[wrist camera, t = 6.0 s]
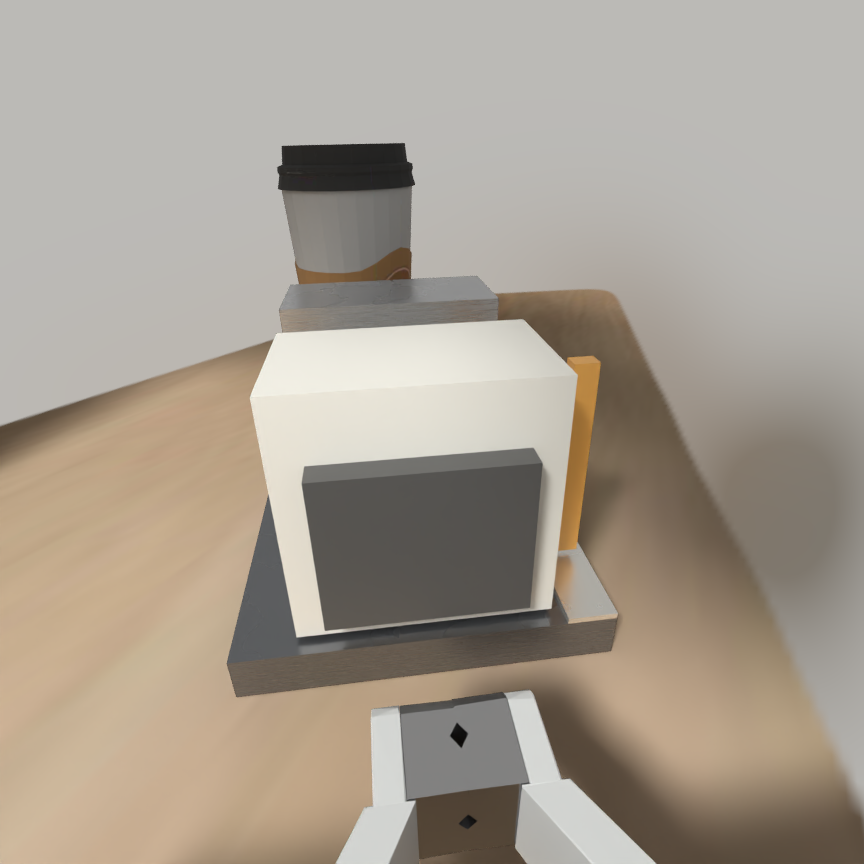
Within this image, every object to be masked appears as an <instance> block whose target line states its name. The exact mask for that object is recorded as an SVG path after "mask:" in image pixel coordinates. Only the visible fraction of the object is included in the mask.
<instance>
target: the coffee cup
mask: <svg viewBox="0 0 864 864" xmlns="http://www.w3.org/2000/svg"><path fill="white" fill-rule="evenodd" d="M412 169H413V167H412V163H409V162H407V158H406V150H405V143H393V144H391V143H390V144H347V145H346V144H343V145H300V146H282V165H281V166H279V167H278V173H279V185H278V189H280V190H282V194H283V199H284V204H285V209H286V214H287V219H288V224H289V228H290V234H291V239H292V244H293V249H294V254H295V266H296V271H297V276H298V281H299V284H318V283H339V282H359V281H380V280H401V279H411V251H410V238H411V195H412V186H413V185H415V183H414V180H413V176H412V172H411V171H412Z"/></svg>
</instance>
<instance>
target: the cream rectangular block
mask: <svg viewBox="0 0 864 864" xmlns="http://www.w3.org/2000/svg"><path fill="white" fill-rule="evenodd" d="M600 367H601V362H600V361H599V360H597V359H596V358H595V357H594V356H582V357H568V359H567V363H566V362H565V361H564V360H563V359H562V358H561V357H560V356H559V355H558V354H557V353H556V352H555V351H554V350H553V349H552V348H551V347H550V346H549V345H548V344H547V343H546V342H545V341H544V340H543V339H542V338H541V337H540V336H539V335H538V334H537V333H536V332H535V331H534V330H533V329H532V328H531V327H530V326H529V325H528V324H527V323H526V322H525V321H524V320H523V319H517V320H499V321H482V322H465V323H447V324H430V325H412V326H395V327H377V328H360V329H342V330H325V331H307V332H290V333H276V336H275V338H274V341H273V343H272V345H271V348H270V350H269V353H268V355H267V357H266V360H265V362H264V365H263V367H262V369H261V372H260V374H259V377H258V379H257V381H256V384H255V386H254V389H253V391H252V393H251V396H250V401H251V406H252V411H253V416H254V422H255V427H256V432H257V437H258V442H259V447H260V452H261V458H262V463H263V468H264V473H265V478H266V483H267V488H268V493H269V499H270V504H271V509H272V514H273V519H274V524H275V529H276V535H277V540H278V545H279V550H280V555H281V560H282V565H283V571H284V576H285V581H286V586H287V591H288V596H289V601H290V607H291V612H292V617H293V622H294V627H295V632H296V637H306V636H315V635H324V634H332V633H341V632H350V631H359V630H368V629H377V628H385V627H394V626H403V625H412V624H421V623H429V622H438V621H447V620H456V619H465V618H473V617H482V616H491V615H500V614H509V613H517V612H526V611H535V610H544V609H551V608H552V599H553V590H554V581H555V572H556V564H557V555H558V551H562V550H571V549H576V547H577V540H578V532H579V525H580V517H581V510H582V502H583V495H584V487H585V480H586V472H587V465H588V457H589V450H590V442H591V434H592V427H593V419H594V412H595V404H596V397H597V389H598V382H599V374H600Z"/></svg>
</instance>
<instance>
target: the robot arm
mask: <svg viewBox="0 0 864 864" xmlns="http://www.w3.org/2000/svg"><path fill="white" fill-rule="evenodd" d="M400 723H401V725H400ZM371 750H372V789H373V806H369V807H364V809H363V811H362V813H361V815H360V817H359V819H358V821H357V823H356V825H355V827H354V829H353V831H352V833H351V835H350V836H349V838H348V840H347V842H346V844H345V846H344V848H343V850H342V852H341V854H340V856H339V858H338V860H337V862H336V864H419V859H424V858H430V857H435V856H441V855H446V854H452V853H457V852H462V851H468V850H477V849H485V848H493V847H501V846H510V845H515V848H516V850H517V851H518V852H519V854H520V855H521V856H522V858H523V859H524V860H525V862H526V863H527V864H656V863H655V862H654V861H653V860H652V859H651V858H650V857H649V856H648V855H647V854H646V853H645V852H644V851H643V850H642V849H641V848H640V847H639V846H638V845H637V844H636V843H635V842H634V841H633V840H632V839H631V838H630V837H629V836H628V835H627V834H626V833H625V832H624V831H623V830H622V829H621V828H620V827H619V826H618V825H617V824H616V823H615V822H614V821H613V820H612V819H611V818H610V817H609V816H608V815H607V814H606V813H605V812H604V811H603V810H602V809H601V808H600V807H599V806H597V805H596V804H595V803H594V802H593V801H592V800H591V799H590V798H589V797H588V796H587V795H586V794H585V793H584V792H583V791H582V790H581V789H580V788H579V787H578V786H577V785H576V784H575V783H574V782H573V781H572V780H571V779H570V778H568V779H562V778H561V775H560V772H559V769H558V766H557V763H556V760H555V757H554V754H553V751H552V748H551V745H550V742H549V739H548V736H547V733H546V730H545V727H544V723H543V720H542V717H541V714H540V711H539V708H538V705H537V702H536V699H535V696H534V694H533V693H532V692H531V690H529V689H528V690H521V691H514V692H507V693H503V692H500V693H493V694H486V695H479V696H472V697H465V698H458V699H452V700H449V701H440V702H431V703H422V704H413V705H404V706H400V713H399V706H392V707H384V708H376V709H372V711H371Z"/></svg>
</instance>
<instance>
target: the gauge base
mask: <svg viewBox="0 0 864 864" xmlns="http://www.w3.org/2000/svg"><path fill="white" fill-rule="evenodd" d="M279 313H280V320H281V326H282V333H290V332H307V331H325V330H342V329H360V328H377V327H395V326H412V325H430V324H447V323H465V322H482V321H498V297H497V296H496V295H495V294H494V293H493V292H492V291H491V290H490V289H489V288H488V287H487V286H486V285H485V284H484V283H483V281H482V280H481V279H480V278H479V277H478V276H464V277H442V278H422V279H401V280H380V281H359V282H339V283H318V284H298V285H290V287H289V289H288V292H287V294H286V296H285V298H284V300H283V303H282V305H281V307H280V309H279ZM617 616H618V613H617V611H616V609H615V607H614V605H613V604H612V602H611V600H610V598H609V597H608V595H607V593H606V591H605V590H604V588H603V586H602V584H601V582H600V581H599V579H598V577H597V575H596V574H595V572H594V570H593V568H592V567H591V565H590V563H589V561H588V559H587V558H586V556H585V554H584V552H583V551H582V549H581V547H580V545H579V544H578V542H577V547H576V549H571V550H562V551H558V555H557V564H556V572H555V581H554V590H553V599H552V608H551V609H544V610H535V611H526V612H517V613H509V614H500V615H491V616H482V617H473V618H465V619H456V620H447V621H438V622H429V623H421V624H412V625H403V626H394V627H385V628H377V629H368V630H359V631H350V632H341V633H332V634H324V635H315V636H306V637H296V632H295V627H294V622H293V617H292V612H291V607H290V601H289V596H288V591H287V586H286V581H285V576H284V571H283V565H282V560H281V555H280V550H279V545H278V540H277V535H276V529H275V524H274V519H273V514H272V509H271V504H270V499H269V494H268V498H267V503H266V507H265V511H264V515H263V519H262V523H261V527H260V531H259V535H258V539H257V543H256V547H255V551H254V555H253V559H252V563H251V567H250V571H249V575H248V580H247V584H246V588H245V592H244V596H243V600H242V604H241V608H240V612H239V616H238V620H237V624H236V628H235V632H234V636H233V640H232V644H231V648H230V652H229V657H228V661H227V666H228V670H229V673H230V677H231V680H232V684H233V687H234V691H235V694H236V697H242V696H250V695H258V694H266V693H274V692H282V691H290V690H298V689H307V688H315V687H323V686H331V685H339V684H347V683H355V682H363V681H371V680H380V679H388V678H396V677H404V676H412V675H420V674H428V673H436V672H445V671H453V670H461V669H469V668H477V667H485V666H493V665H501V664H509V663H518V662H526V661H534V660H542V659H550V658H558V657H566V656H574V655H583V654H591V653H599V652H607V651H611V648H612V642H613V637H614V632H615V627H616V622H617Z"/></svg>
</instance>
